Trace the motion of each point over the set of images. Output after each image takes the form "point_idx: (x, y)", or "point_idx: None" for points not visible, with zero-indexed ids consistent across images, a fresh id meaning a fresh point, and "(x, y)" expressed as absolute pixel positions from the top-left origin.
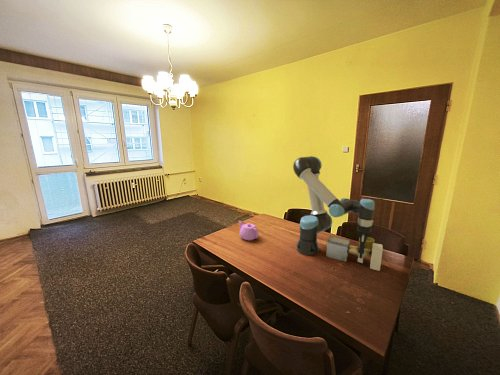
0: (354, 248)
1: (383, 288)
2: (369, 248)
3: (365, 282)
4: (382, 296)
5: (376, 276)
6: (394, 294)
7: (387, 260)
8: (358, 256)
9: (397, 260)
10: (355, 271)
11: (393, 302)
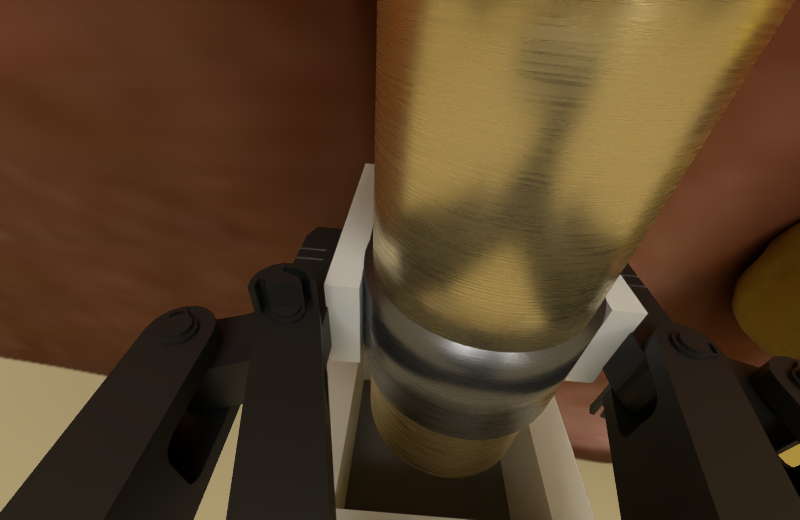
0: (421, 205)
1: (111, 329)
2: (782, 340)
3: (43, 225)
4: (3, 315)
5: (240, 307)
6: (111, 366)
7: (568, 388)
8: (349, 219)
9: (582, 427)
10: (153, 124)
11: (19, 353)
